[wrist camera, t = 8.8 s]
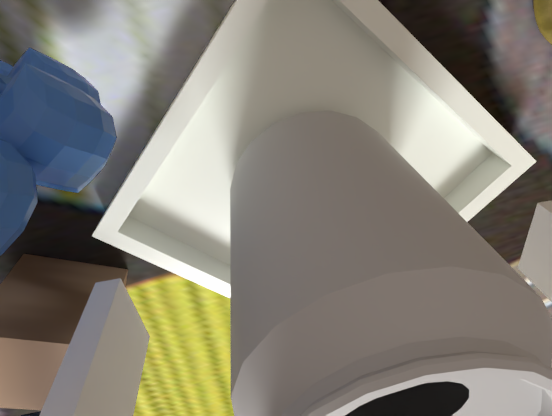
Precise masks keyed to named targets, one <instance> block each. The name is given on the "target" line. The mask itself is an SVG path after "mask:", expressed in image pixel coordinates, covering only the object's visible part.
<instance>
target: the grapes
mask: <svg viewBox="0 0 552 416" xmlns="http://www.w3.org/2000/svg"><path fill="white" fill-rule="evenodd" d="M116 138H117V137H116V132H115V127H114V122H113V117H112V116H111V115H110V114H109V113H108V112H107V111H106V110H105V109H104V108H103V107H102V106H101V104H100V99H99V93H98V91H97V90H96V89H95V88H94V87H93V86H92V85H91V84H90V83H89V82H88V81H87V80H86V79H85V78H84V77H83V76H81V75H80V74H79V73H77V72H76V71H75V70H73V69H71V68H69V67H68V66H66V65H64V64H62V63H60V62H58V61H57V60H55V59H53V58H51V57H49V56H47V55H44V54H42V53H40V52H38V51H36V50H34V49H32V48H30V47H29V48H28V49H27V51H26V52H25V53H24V54H23V55H22V56H21V58H20V59H19V60H18V61H17V62H16V64H15V65H14V67H13V66H11V65H9V64H7V63H6V62H4V61H2V60H0V256H1V255H2V254H3V253H4V252H5V251H6V250H7V249H8V248H9V247H10V245H11V244H12V243H13V242H14V241H15V240H16V239H17V238H18V237H19V236H20V234H21V233H22V232H23V231H24V229H25V227H26V225H27V223H28V221H29V219H30V217H31V215H32V213H33V211H34V209H35V207H36V204H37V202H38V199H37V188H36V185H40V186H44V187H49V188H54V189H59V190H64V191H70V192H76V193H78V192H80V191H81V190H82V189H83V188H84V187H85V186H87V185H88V184H89V183H90V182H91V181H92V180H93V179H94V178H95V176H96V175H97V174H98V173H99V172H100V171H101V170H102V169H103V168H104V167H105V165H106V163H107V161H108V158H109V156H110V154H111V151H112V149H113V147H114V144H115V141H116Z"/></svg>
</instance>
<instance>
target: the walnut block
mask: <svg viewBox="0 0 552 416" xmlns="http://www.w3.org/2000/svg"><path fill="white" fill-rule="evenodd" d="M127 273H128V269H121V268H115V267H108V266H102V265H95V264H89V263H82V262H75V261H69V260H62V259H56V258H49V257H43V256H36V255H30V254H23V255H22V257H21V258H20V259H19V261H18V262H17V263H16V265H15V266H14V267H13V269H12V270H11V271H10V273H9V274H8V275H7V276H6V278H5V279H4V280H3V282H2V283H1V284H0V408H13V409H30V410H42V408H43V406H44V403H45V401H46V399H47V396H48V394H49V392H50V389H51V387H52V384H53V382H54V380H55V377H56V375H57V373H58V370H59V368H60V366H61V363H62V361H63V358H64V356H65V354H66V351H67V349H68V347H69V344H70V342H71V339H72V337H73V335H74V332H75V330H76V328H77V325H78V323H79V320H80V318H81V316H82V313H83V311H84V309H85V306H86V304H87V301H88V299H89V297H90V294H91V292H92V290H93V287H94V285H95V283H97V282H102V281H108V280H113V279H119V278H121V280H122V282H123V284H124V286H125V287H126V280H127Z"/></svg>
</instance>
